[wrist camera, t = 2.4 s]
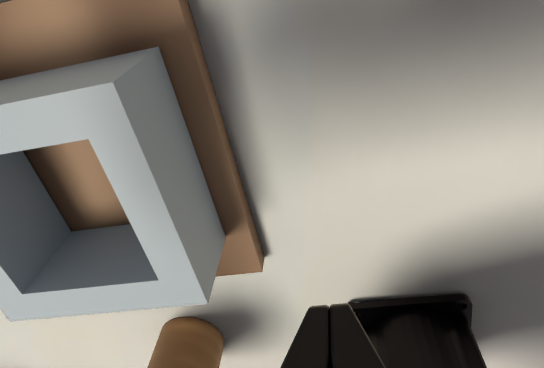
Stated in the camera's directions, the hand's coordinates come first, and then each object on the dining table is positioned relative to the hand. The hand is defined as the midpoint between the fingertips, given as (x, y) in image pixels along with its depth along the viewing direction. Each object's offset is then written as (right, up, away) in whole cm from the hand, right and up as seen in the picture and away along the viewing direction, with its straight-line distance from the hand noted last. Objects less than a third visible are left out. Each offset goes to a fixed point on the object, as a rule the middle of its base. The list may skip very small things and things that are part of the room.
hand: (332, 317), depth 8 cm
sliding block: (-9, +3, +9) cm, 13 cm away
